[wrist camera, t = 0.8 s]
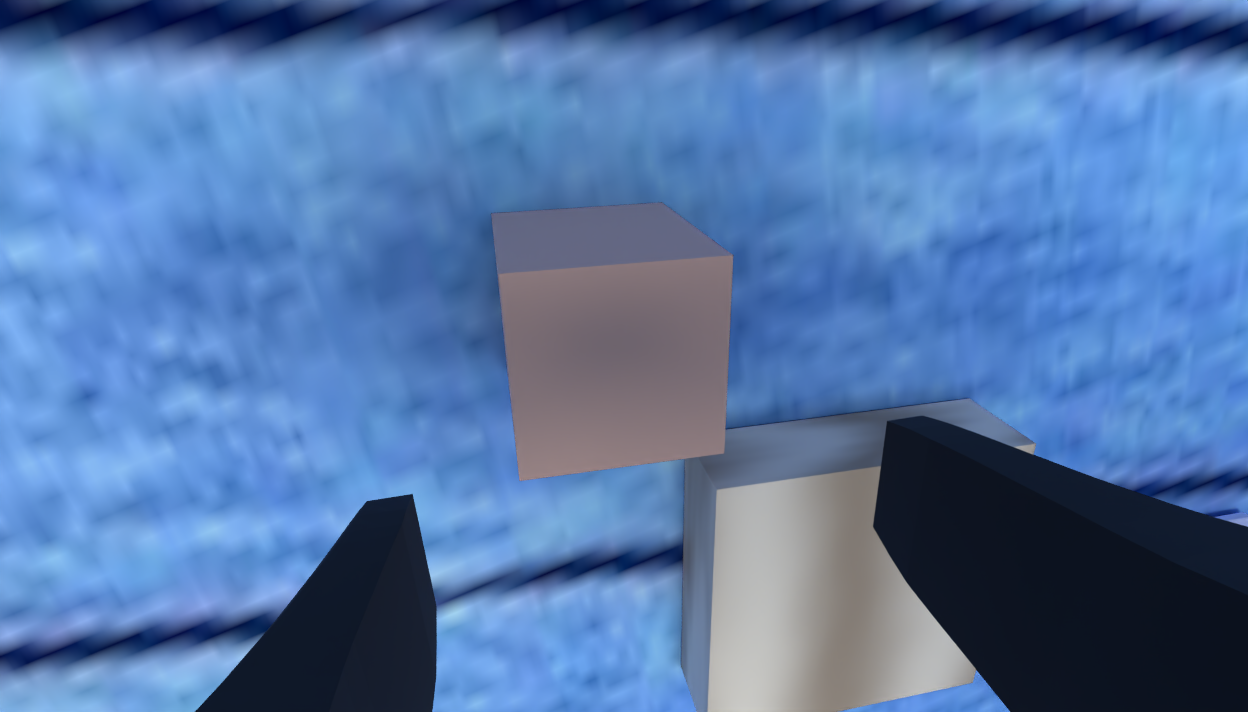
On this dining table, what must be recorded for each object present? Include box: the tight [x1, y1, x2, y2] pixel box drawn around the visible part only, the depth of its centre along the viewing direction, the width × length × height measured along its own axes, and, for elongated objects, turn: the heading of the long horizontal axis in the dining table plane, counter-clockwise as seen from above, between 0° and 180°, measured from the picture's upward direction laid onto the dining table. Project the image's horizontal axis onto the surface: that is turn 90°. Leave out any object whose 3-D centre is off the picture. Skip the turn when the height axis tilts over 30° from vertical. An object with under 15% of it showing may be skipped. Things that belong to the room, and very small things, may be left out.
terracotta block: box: [491, 202, 733, 481], centre depth 16 cm, size 4×4×6 cm
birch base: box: [681, 398, 1036, 712], centre depth 22 cm, size 10×10×3 cm
